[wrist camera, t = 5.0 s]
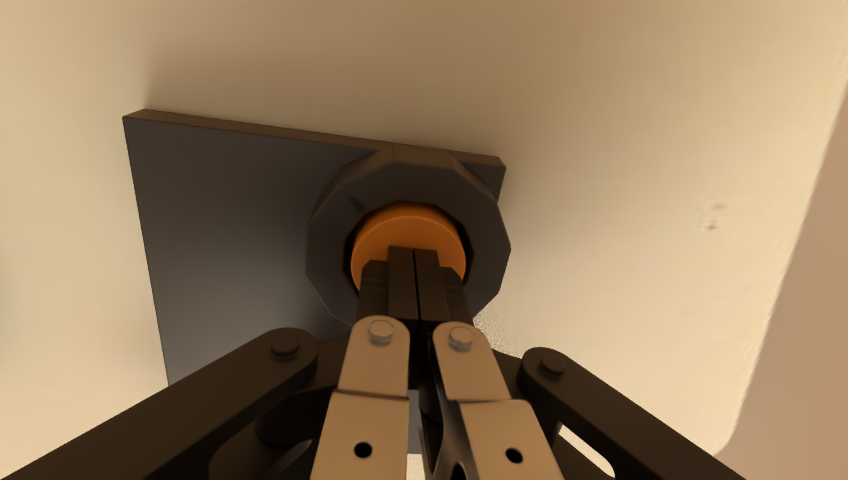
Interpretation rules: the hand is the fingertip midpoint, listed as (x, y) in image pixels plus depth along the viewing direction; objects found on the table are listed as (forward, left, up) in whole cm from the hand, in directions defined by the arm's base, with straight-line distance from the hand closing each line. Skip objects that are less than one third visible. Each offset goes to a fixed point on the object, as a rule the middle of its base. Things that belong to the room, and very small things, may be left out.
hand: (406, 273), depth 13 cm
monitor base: (+4, -3, -3) cm, 6 cm away
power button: (0, 0, -2) cm, 2 cm away
